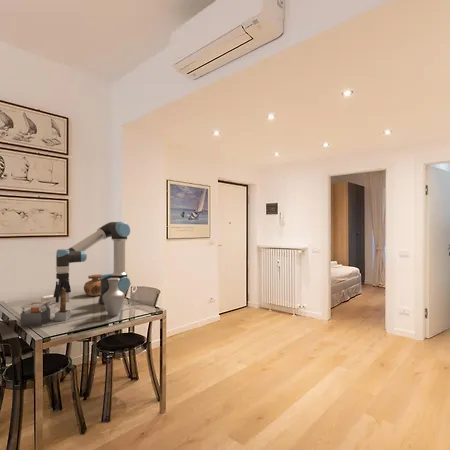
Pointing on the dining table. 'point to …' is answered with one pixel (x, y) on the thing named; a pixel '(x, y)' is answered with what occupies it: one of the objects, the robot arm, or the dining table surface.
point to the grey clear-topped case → (35, 314)
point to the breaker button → (35, 309)
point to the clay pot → (93, 285)
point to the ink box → (52, 302)
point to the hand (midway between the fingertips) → (62, 304)
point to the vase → (113, 297)
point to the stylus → (63, 301)
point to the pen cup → (62, 316)
